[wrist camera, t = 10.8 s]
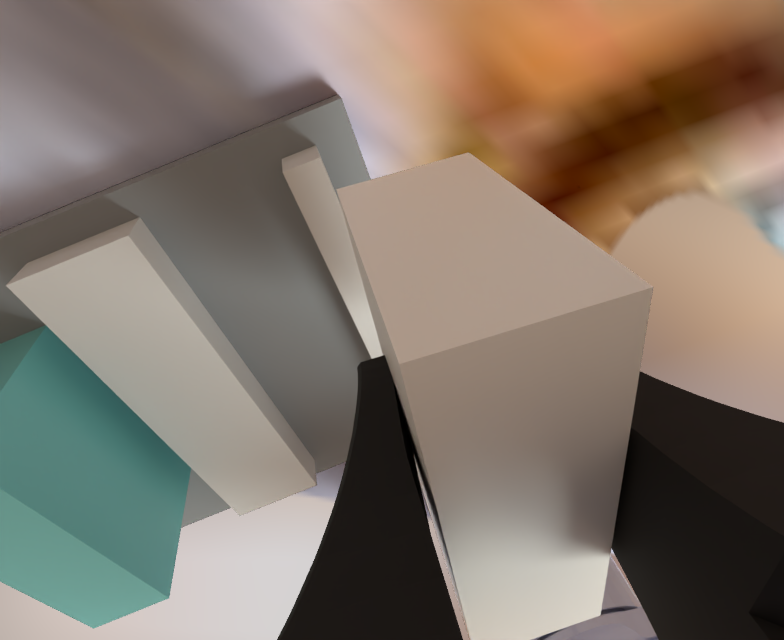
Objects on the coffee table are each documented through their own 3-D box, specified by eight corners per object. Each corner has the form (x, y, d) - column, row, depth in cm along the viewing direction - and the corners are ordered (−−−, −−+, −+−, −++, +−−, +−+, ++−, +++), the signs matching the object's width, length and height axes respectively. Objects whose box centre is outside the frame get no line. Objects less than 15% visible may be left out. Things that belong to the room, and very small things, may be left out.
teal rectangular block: (191, 465, 22) (169, 597, 17) (132, 489, 22) (93, 628, 17) (47, 324, 16) (-47, 458, 12) (-30, 356, 16) (-156, 503, 12)
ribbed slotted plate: (451, 406, 24) (466, 439, 23) (122, 538, 25) (109, 582, 23) (338, 94, 15) (347, 106, 13) (-196, 312, 15) (-261, 355, 13)
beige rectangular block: (496, 422, 15) (600, 615, 10) (409, 450, 15) (475, 658, 10) (468, 152, 10) (653, 286, 5) (336, 188, 10) (398, 364, 5)
